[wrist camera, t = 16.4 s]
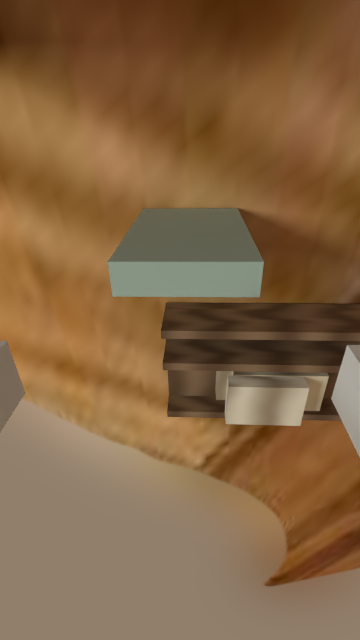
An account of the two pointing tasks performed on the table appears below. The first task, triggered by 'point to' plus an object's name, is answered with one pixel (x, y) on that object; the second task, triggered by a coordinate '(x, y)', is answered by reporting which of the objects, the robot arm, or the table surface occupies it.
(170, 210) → the grey-green flat block
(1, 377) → the robot arm
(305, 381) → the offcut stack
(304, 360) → the rack
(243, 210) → the table surface
